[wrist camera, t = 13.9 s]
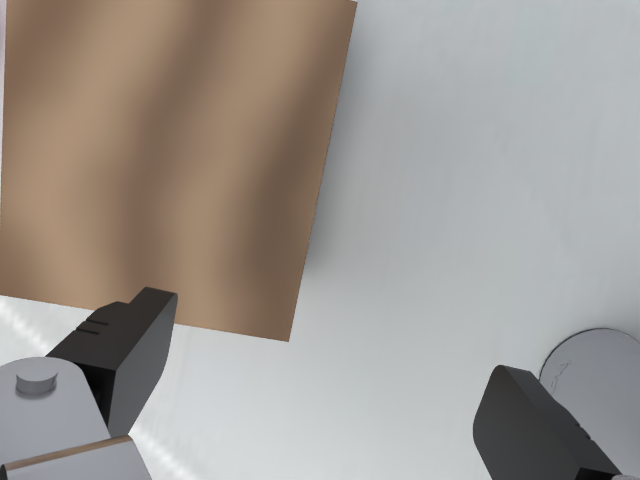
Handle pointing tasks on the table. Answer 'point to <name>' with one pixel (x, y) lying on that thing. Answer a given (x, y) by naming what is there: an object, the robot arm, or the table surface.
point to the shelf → (168, 152)
